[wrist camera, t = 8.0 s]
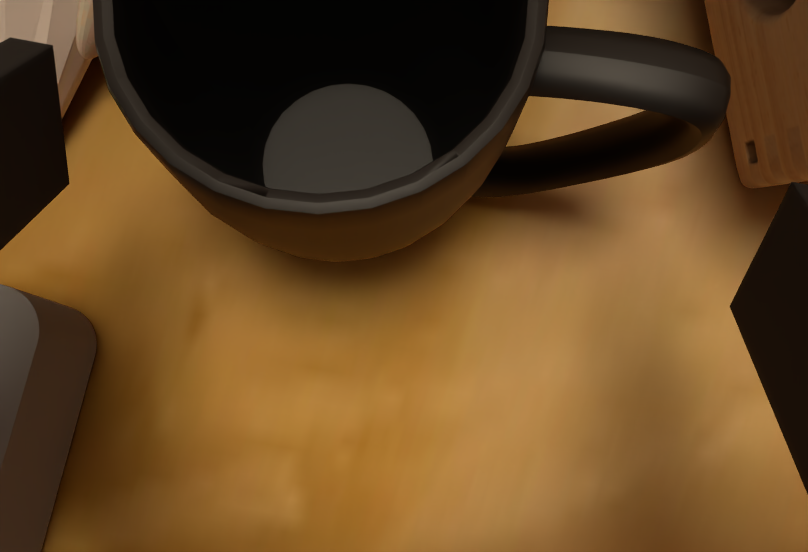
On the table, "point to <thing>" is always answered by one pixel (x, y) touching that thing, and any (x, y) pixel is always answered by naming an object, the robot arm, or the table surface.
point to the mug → (386, 108)
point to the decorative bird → (55, 36)
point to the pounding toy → (765, 86)
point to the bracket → (37, 408)
